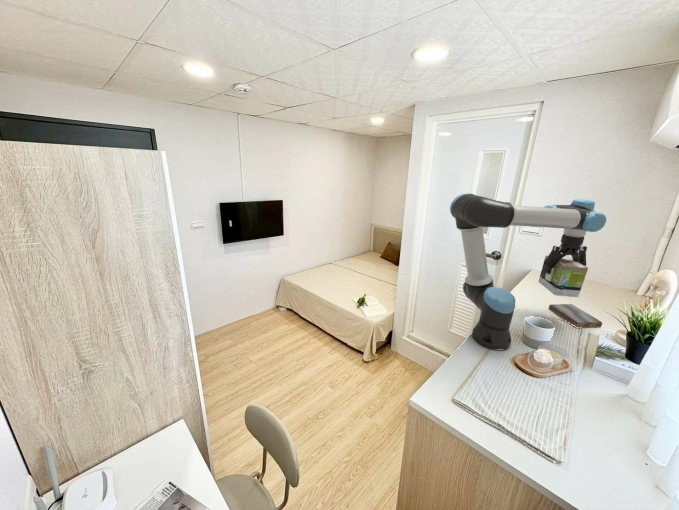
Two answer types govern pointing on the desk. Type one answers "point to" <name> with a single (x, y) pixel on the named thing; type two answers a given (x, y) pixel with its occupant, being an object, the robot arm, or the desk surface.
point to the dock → (575, 315)
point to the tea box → (565, 277)
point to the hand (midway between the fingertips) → (559, 279)
